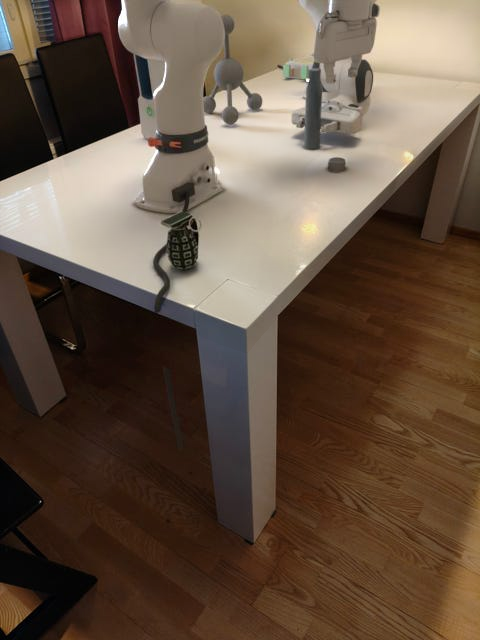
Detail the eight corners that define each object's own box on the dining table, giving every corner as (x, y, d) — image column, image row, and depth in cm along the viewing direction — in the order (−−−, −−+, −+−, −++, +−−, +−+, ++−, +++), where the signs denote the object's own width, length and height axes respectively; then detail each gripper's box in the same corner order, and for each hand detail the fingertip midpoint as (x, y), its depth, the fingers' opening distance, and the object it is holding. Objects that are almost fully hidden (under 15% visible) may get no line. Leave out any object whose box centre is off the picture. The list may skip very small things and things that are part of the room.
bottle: (322, 148, 139) (326, 69, 127) (308, 150, 138) (311, 72, 125) (314, 143, 142) (318, 67, 130) (301, 146, 141) (303, 69, 129)
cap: (324, 169, 126) (325, 160, 125) (335, 164, 128) (336, 156, 127) (337, 173, 124) (338, 164, 122) (348, 168, 126) (349, 159, 124)
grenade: (182, 278, 88) (175, 228, 82) (162, 268, 91) (153, 219, 85) (208, 263, 92) (203, 214, 85) (187, 253, 95) (181, 205, 89)
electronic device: (141, 137, 154) (123, 28, 136) (159, 131, 158) (144, 24, 140) (166, 145, 147) (151, 30, 129) (185, 138, 151) (172, 26, 133)
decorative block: (304, 51, 222) (344, 54, 212) (304, 67, 226) (343, 70, 216) (274, 62, 206) (316, 65, 196) (274, 78, 210) (315, 83, 200)
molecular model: (282, 115, 166) (282, 11, 148) (228, 129, 157) (221, 20, 138) (243, 102, 182) (239, 7, 163) (192, 114, 173) (181, 15, 154)
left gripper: (334, 13, 97) (328, 89, 105) (384, 7, 109) (375, 75, 117) (308, 12, 100) (304, 85, 108) (359, 6, 113) (352, 72, 121)
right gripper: (306, 99, 148) (280, 110, 139) (367, 107, 137) (343, 120, 129) (305, 120, 151) (280, 132, 143) (365, 130, 141) (341, 144, 133)
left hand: (341, 80), depth 113 cm, fingers open, 8 cm apart
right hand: (310, 127), depth 136 cm, fingers open, 7 cm apart
